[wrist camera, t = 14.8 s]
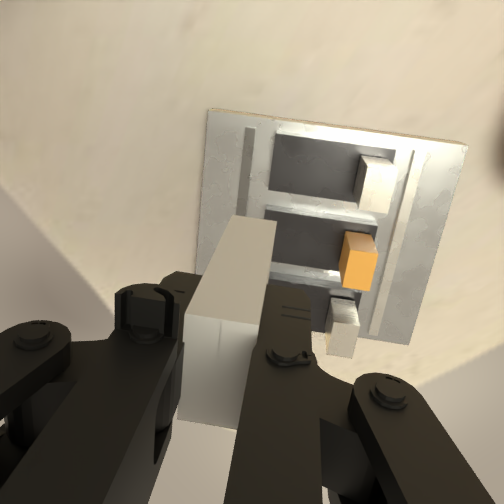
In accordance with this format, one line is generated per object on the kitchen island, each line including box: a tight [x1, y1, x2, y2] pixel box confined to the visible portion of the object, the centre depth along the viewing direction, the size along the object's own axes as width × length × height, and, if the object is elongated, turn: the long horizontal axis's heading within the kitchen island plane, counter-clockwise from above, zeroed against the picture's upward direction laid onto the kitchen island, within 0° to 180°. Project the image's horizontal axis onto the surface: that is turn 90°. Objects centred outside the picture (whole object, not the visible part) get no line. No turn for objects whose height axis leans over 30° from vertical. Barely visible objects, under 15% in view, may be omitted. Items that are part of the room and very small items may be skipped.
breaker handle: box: [339, 231, 378, 291], centre depth 35 cm, size 2×3×4 cm, turn 173°
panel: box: [195, 108, 468, 359], centre depth 37 cm, size 20×18×8 cm
